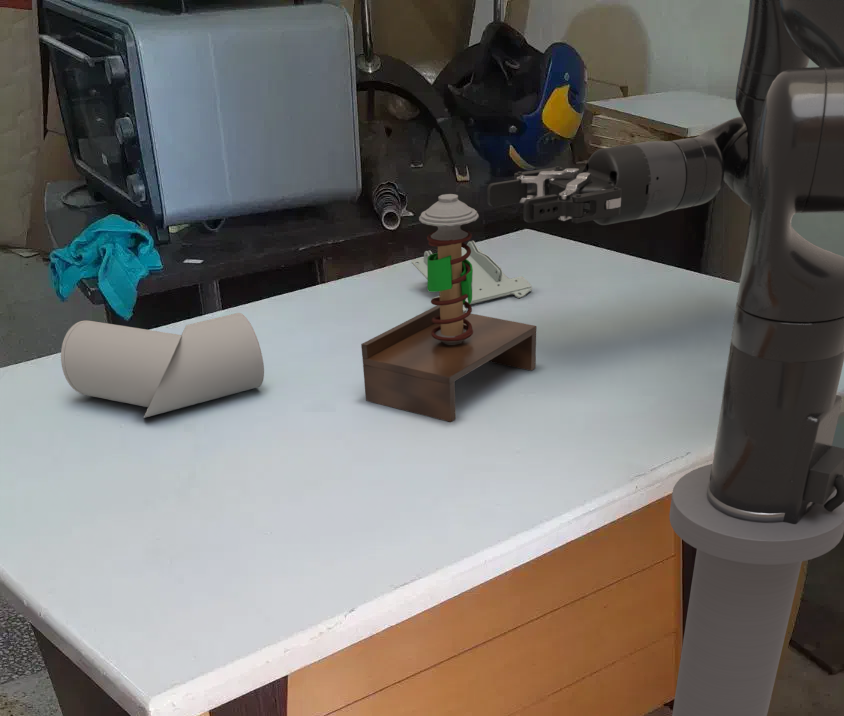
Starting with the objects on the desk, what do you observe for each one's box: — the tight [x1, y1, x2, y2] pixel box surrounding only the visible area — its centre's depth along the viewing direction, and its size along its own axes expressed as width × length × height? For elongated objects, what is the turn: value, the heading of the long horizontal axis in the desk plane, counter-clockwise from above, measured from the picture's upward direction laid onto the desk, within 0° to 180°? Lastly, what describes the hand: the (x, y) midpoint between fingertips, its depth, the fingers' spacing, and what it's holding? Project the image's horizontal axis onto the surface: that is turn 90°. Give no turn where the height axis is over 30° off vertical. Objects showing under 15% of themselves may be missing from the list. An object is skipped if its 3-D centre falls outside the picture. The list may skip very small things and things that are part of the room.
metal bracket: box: [411, 240, 533, 312], centre depth 145 cm, size 14×6×15 cm
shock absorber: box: [418, 193, 480, 345], centre depth 112 cm, size 6×6×15 cm
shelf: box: [360, 305, 537, 423], centre depth 118 cm, size 12×18×6 cm, turn 144°
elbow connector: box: [60, 312, 265, 419], centre depth 118 cm, size 18×11×20 cm
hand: (506, 203), depth 110 cm, fingers open, 8 cm apart
